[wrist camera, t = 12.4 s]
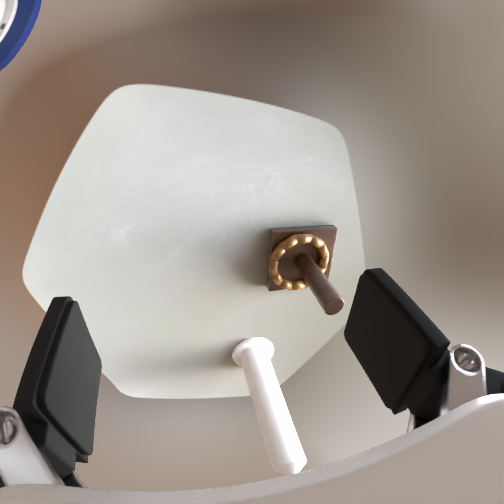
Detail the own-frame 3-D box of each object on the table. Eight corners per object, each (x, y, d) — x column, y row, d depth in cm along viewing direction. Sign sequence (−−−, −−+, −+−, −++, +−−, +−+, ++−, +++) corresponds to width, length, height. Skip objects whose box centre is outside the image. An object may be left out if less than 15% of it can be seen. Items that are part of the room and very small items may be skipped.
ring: (269, 234, 37) (272, 238, 36) (330, 230, 39) (334, 234, 38) (265, 289, 41) (268, 294, 40) (321, 282, 43) (324, 287, 42)
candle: (228, 365, 49) (263, 499, 28) (236, 336, 46) (279, 485, 25) (267, 364, 51) (312, 489, 30) (277, 336, 48) (333, 472, 27)
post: (270, 228, 38) (302, 277, 29) (333, 225, 40) (377, 268, 31) (266, 286, 43) (291, 342, 33) (323, 279, 44) (358, 329, 35)
